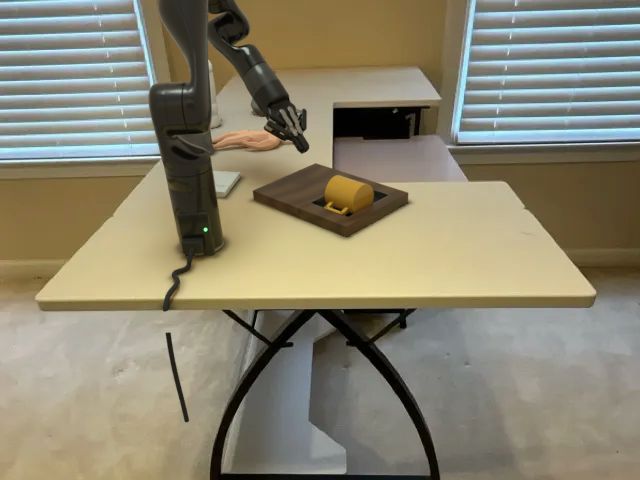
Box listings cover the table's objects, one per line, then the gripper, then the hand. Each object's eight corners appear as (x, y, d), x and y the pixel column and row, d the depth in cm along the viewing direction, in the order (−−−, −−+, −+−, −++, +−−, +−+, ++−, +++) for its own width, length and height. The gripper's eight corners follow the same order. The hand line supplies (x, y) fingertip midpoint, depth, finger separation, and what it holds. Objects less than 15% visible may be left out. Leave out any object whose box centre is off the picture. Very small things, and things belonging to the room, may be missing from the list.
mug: (341, 168, 137) (370, 177, 132) (349, 193, 142) (376, 203, 137) (314, 195, 133) (342, 205, 129) (322, 219, 139) (350, 230, 134)
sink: (309, 212, 138) (308, 202, 137) (351, 191, 147) (351, 181, 146) (348, 227, 132) (348, 217, 130) (390, 204, 140) (390, 194, 139)
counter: (253, 200, 145) (252, 190, 144) (315, 172, 158) (315, 163, 156) (346, 237, 128) (346, 226, 127) (408, 202, 141) (408, 192, 139)
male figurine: (210, 129, 178) (293, 119, 177) (214, 146, 181) (295, 135, 180) (205, 142, 170) (292, 131, 168) (209, 159, 173) (294, 148, 171)
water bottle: (194, 126, 192) (180, 41, 177) (212, 120, 196) (199, 37, 181) (206, 131, 188) (193, 44, 173) (225, 125, 192) (213, 40, 177)
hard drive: (240, 177, 157) (225, 197, 147) (211, 176, 158) (194, 196, 148) (240, 171, 156) (224, 191, 146) (210, 170, 157) (193, 189, 147)
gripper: (250, 85, 134) (292, 150, 134) (292, 72, 141) (332, 134, 141) (238, 105, 140) (278, 167, 140) (279, 92, 147) (317, 151, 148)
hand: (305, 151), depth 141 cm, fingers closed
